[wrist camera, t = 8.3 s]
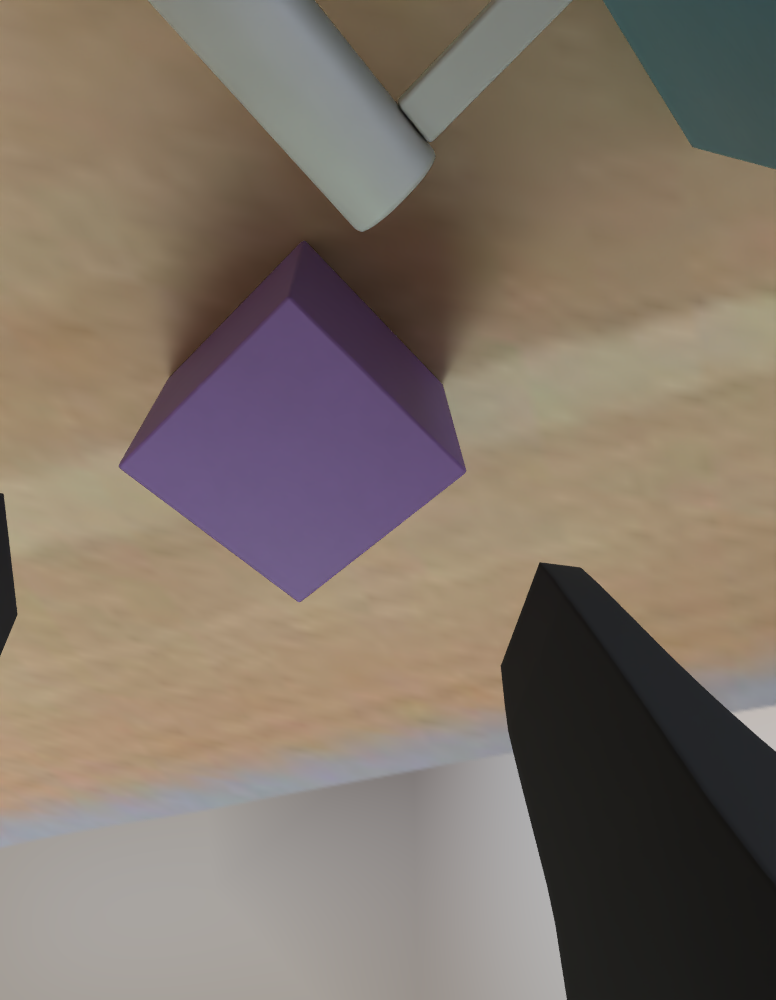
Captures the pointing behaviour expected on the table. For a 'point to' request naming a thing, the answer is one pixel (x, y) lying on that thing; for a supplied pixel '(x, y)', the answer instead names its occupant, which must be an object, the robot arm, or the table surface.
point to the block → (298, 430)
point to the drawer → (467, 82)
